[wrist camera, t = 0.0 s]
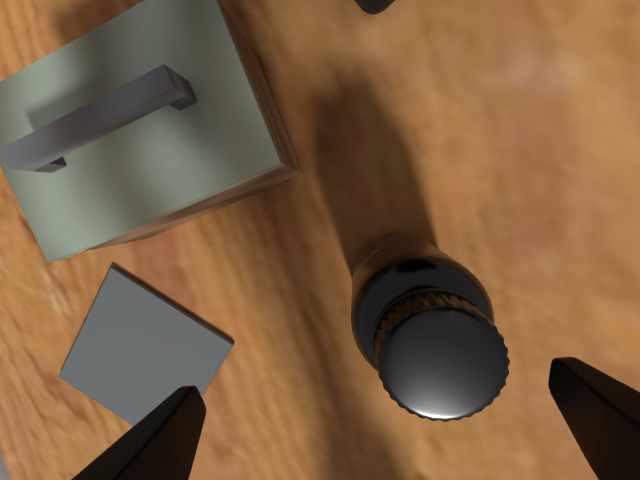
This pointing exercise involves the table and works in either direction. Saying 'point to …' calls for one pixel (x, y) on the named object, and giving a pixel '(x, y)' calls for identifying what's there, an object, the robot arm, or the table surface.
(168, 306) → the mat
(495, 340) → the supplement bottle
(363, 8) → the flower pot
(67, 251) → the toolbox
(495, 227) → the table surface
